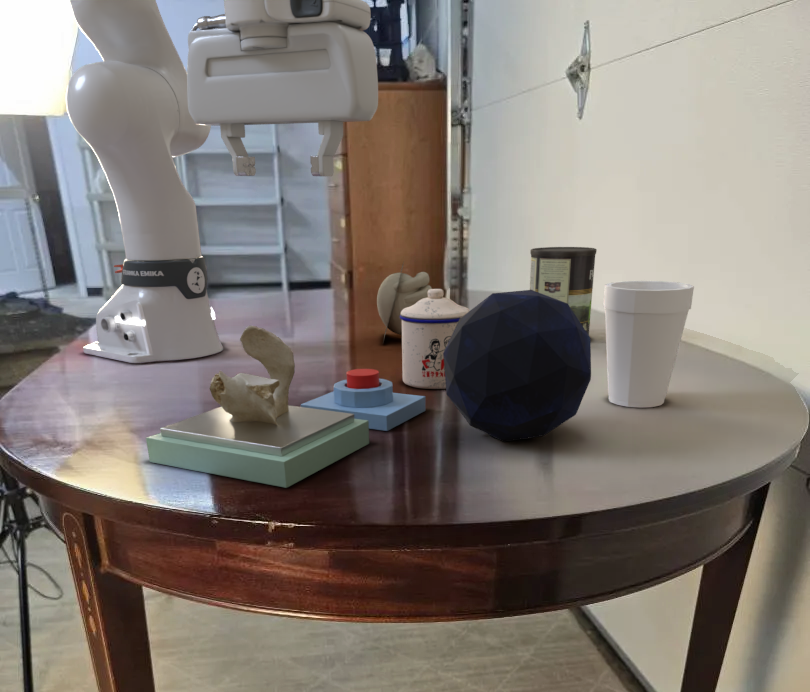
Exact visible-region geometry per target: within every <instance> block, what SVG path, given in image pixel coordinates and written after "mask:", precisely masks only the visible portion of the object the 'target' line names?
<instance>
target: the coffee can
mask: <svg viewBox="0 0 810 692" xmlns="http://www.w3.org/2000/svg"><path fill="white" fill-rule="evenodd" d="M596 255H597V248H595V247H588V246H587V247H585V246H547V247H534V248H531V249H530V271H529V290H533V291H536V292H538V293H541V294H544V295H546V296H549V297H552V298H554V299H557V300H560V301H562V302H565V303H568V305H569V306H570V308H571V309H572V311H573V312H574V314H575V315H576V317H577V318H578V320H579V321H580V323H581V324H582V326H583V327H584V329H585V331H586V332H587V334H588V335H589V336H590V328H591V327H590V326H591V325H590V324H591V314H592V313H591V312H592V301H593V300H592V299H593V289H594V277H595V264H596Z"/></svg>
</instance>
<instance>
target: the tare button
mask: <svg viewBox="0 0 810 692" xmlns="http://www.w3.org/2000/svg"><path fill="white" fill-rule="evenodd" d="M379 379H380V371H379V370H378V369H374V368H355V369H350V370H348V371H346V380H347V387H348V388H353V389H369V388H376V387H379Z"/></svg>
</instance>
